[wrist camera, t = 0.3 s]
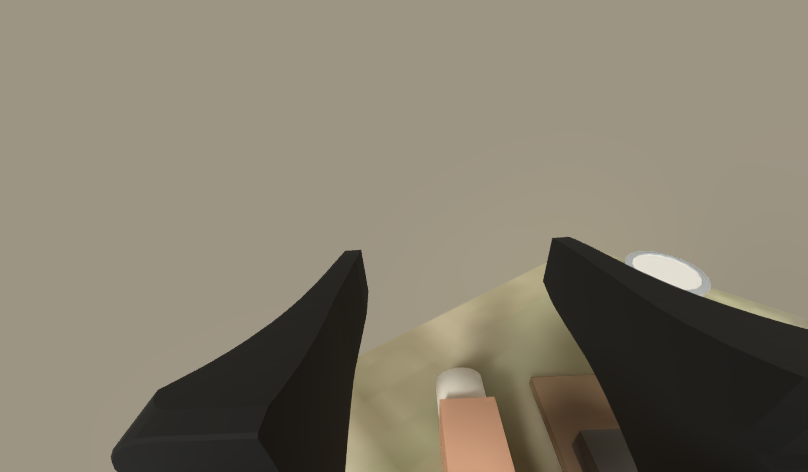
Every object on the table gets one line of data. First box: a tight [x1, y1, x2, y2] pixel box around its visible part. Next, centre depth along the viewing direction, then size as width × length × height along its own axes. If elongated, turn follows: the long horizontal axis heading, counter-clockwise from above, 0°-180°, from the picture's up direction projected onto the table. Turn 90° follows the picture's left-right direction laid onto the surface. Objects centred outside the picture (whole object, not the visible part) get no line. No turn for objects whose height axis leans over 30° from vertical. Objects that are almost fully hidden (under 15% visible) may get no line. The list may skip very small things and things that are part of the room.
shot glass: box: [624, 251, 711, 297], centre depth 31 cm, size 7×7×7 cm
